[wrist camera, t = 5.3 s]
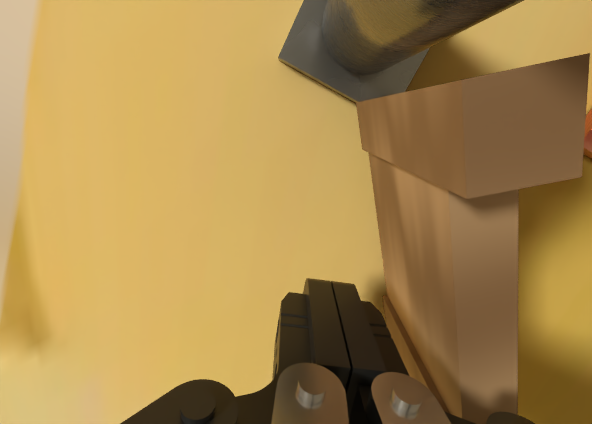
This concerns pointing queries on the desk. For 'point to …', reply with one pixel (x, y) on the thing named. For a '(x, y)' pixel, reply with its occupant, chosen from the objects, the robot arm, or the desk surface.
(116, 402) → the desk surface
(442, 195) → the gate
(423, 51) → the gate posts
